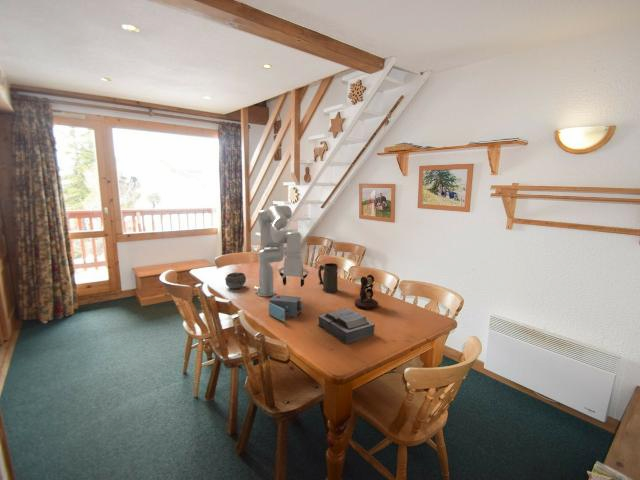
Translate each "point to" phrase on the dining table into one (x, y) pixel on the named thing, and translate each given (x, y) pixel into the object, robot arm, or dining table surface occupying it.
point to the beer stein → (329, 277)
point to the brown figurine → (366, 293)
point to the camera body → (288, 304)
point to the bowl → (235, 280)
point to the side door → (277, 312)
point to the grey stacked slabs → (346, 325)
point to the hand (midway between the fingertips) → (293, 285)
